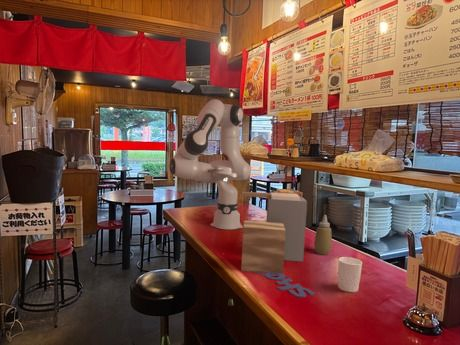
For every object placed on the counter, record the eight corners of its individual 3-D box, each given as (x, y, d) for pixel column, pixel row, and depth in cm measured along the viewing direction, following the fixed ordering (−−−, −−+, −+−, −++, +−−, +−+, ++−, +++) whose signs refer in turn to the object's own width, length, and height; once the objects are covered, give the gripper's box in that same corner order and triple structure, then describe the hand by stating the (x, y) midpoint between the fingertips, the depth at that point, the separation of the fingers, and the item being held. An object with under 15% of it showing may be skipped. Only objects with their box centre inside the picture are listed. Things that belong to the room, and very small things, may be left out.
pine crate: (242, 260, 142) (244, 220, 141) (280, 263, 141) (282, 223, 140) (241, 270, 130) (243, 227, 129) (282, 273, 129) (285, 230, 128)
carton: (264, 250, 157) (267, 195, 155) (299, 252, 156) (303, 197, 154) (265, 258, 145) (269, 199, 143) (303, 261, 144) (307, 201, 142)
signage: (317, 293, 112) (293, 298, 108) (316, 295, 112) (293, 300, 108) (268, 264, 137) (247, 267, 133) (268, 266, 137) (247, 269, 133)
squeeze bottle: (319, 249, 163) (321, 212, 162) (334, 253, 158) (337, 215, 156) (310, 252, 158) (312, 214, 156) (325, 257, 152) (328, 217, 150)
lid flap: (241, 193, 155) (242, 190, 155) (296, 197, 153) (296, 193, 153) (241, 197, 145) (241, 193, 145) (299, 200, 143) (300, 197, 143)
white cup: (347, 294, 114) (349, 265, 113) (331, 285, 121) (333, 258, 120) (364, 291, 117) (367, 263, 116) (348, 282, 124) (350, 256, 123)
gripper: (214, 160, 147) (242, 166, 153) (196, 170, 164) (221, 175, 170) (213, 174, 145) (241, 180, 151) (195, 183, 162) (220, 187, 169)
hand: (230, 177), depth 161 cm, fingers open, 8 cm apart
